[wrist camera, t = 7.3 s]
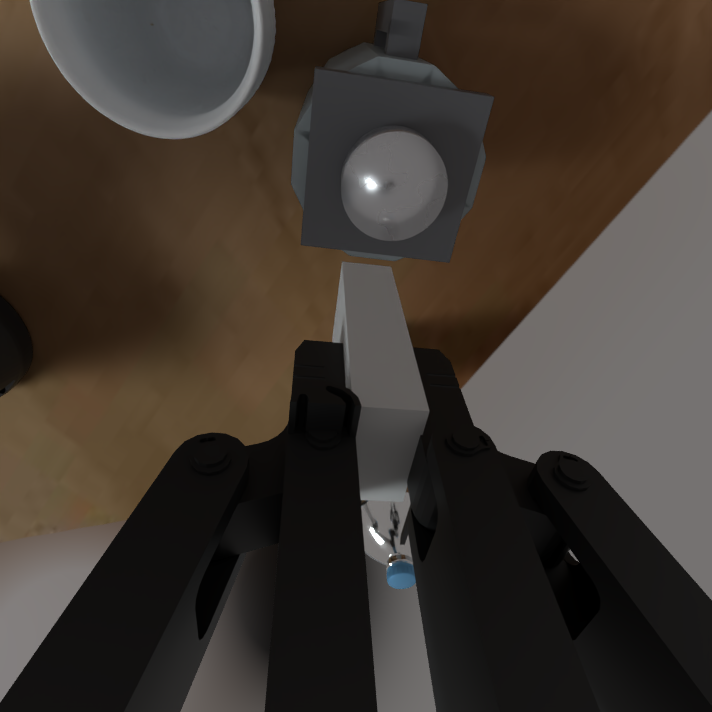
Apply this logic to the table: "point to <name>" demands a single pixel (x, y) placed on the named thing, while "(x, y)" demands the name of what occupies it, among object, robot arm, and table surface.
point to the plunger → (393, 183)
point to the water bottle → (388, 539)
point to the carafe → (379, 109)
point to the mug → (161, 58)
